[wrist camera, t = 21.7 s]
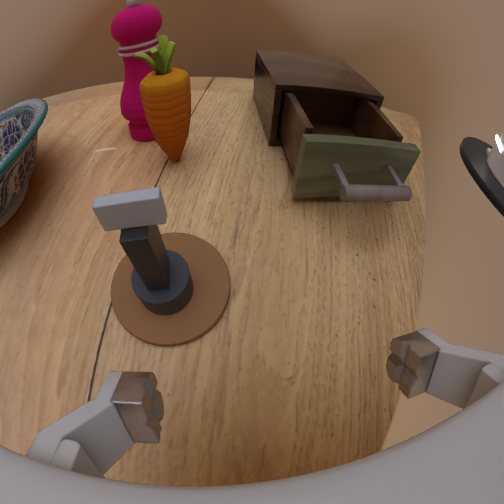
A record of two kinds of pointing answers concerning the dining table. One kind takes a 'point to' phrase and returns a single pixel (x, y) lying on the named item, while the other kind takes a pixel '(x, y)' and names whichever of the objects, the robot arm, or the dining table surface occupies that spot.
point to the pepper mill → (136, 60)
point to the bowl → (18, 152)
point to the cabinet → (302, 83)
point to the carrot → (166, 99)
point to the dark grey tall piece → (147, 248)
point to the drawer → (343, 148)
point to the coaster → (194, 313)
